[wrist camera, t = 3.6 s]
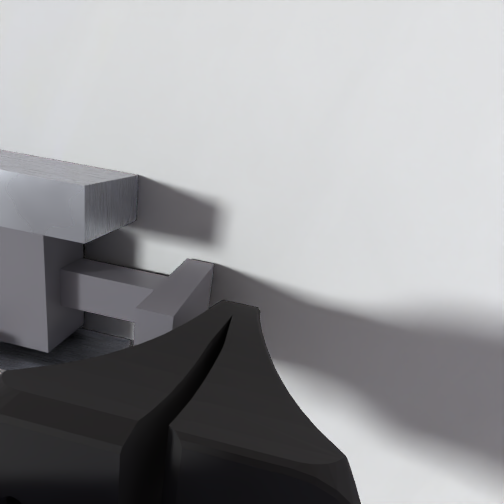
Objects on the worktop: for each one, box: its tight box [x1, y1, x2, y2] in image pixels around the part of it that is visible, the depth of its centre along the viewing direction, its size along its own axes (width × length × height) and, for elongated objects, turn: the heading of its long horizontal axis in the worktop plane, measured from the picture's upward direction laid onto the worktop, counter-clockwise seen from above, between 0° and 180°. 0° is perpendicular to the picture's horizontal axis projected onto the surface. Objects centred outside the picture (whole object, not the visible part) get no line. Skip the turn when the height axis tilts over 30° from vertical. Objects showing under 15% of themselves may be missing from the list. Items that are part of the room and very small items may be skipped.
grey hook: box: [0, 226, 214, 353], centre depth 12 cm, size 8×6×4 cm
